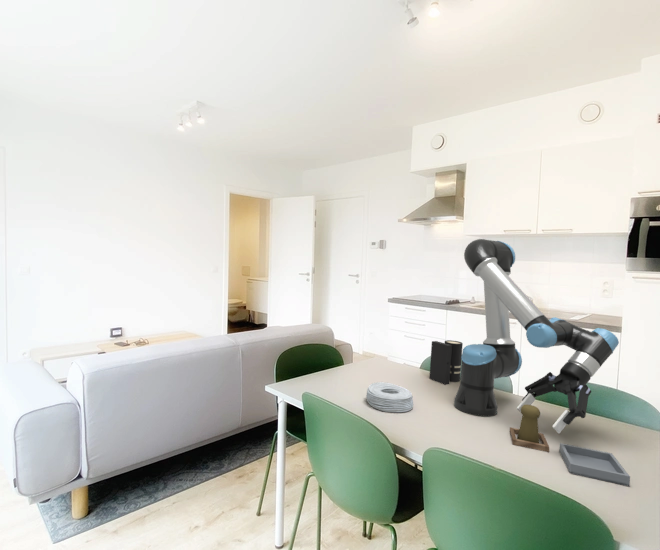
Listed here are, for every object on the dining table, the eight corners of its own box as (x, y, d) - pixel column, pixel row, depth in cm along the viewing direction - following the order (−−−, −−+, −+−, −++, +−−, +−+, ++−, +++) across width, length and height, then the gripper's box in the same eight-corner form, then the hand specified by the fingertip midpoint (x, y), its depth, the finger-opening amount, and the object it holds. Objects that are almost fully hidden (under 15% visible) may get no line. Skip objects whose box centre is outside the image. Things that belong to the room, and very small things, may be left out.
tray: (570, 473, 95) (570, 463, 95) (559, 451, 106) (559, 442, 106) (629, 486, 90) (630, 476, 90) (611, 462, 102) (611, 453, 102)
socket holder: (512, 444, 109) (512, 439, 109) (509, 431, 118) (509, 427, 118) (548, 452, 106) (549, 447, 106) (542, 438, 114) (543, 433, 114)
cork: (513, 436, 114) (515, 402, 114) (531, 436, 115) (533, 402, 115) (524, 446, 108) (527, 409, 108) (544, 446, 109) (546, 410, 109)
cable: (368, 393, 147) (369, 379, 146) (412, 399, 143) (413, 384, 143) (363, 410, 129) (364, 393, 129) (413, 417, 126) (414, 399, 126)
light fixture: (465, 381, 170) (467, 343, 170) (445, 385, 163) (448, 345, 163) (448, 375, 179) (450, 339, 178) (428, 378, 171) (431, 341, 171)
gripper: (626, 391, 103) (580, 448, 99) (551, 366, 127) (513, 411, 123) (612, 373, 101) (566, 430, 98) (540, 351, 125) (500, 396, 122)
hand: (536, 420), depth 111 cm, fingers open, 13 cm apart
